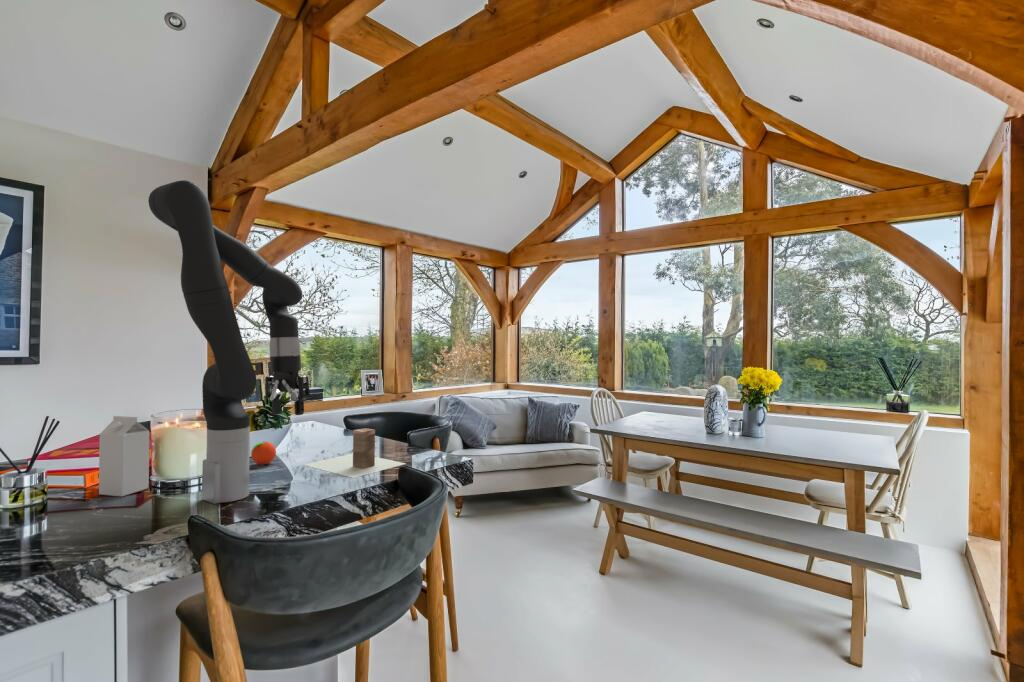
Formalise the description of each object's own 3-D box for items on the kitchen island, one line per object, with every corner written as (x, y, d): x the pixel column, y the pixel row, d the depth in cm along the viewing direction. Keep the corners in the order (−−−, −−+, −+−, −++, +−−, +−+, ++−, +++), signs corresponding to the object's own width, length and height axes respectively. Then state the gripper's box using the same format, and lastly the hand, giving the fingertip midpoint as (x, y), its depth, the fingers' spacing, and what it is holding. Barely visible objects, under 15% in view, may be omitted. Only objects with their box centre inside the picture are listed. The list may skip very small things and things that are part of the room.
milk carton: (126, 486, 129) (127, 413, 129) (148, 488, 128) (149, 415, 128) (98, 495, 122) (99, 418, 122) (122, 497, 121) (123, 419, 121)
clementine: (259, 469, 149) (260, 445, 149) (242, 466, 151) (243, 443, 151) (281, 462, 156) (281, 440, 156) (264, 460, 159) (264, 438, 159)
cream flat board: (353, 479, 138) (353, 477, 138) (302, 466, 152) (302, 464, 152) (406, 465, 155) (406, 463, 155) (356, 454, 168) (356, 452, 168)
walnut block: (362, 468, 148) (363, 431, 148) (352, 466, 150) (353, 430, 150) (374, 465, 152) (375, 429, 152) (364, 463, 154) (365, 428, 154)
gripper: (254, 355, 134) (257, 416, 134) (292, 354, 128) (295, 417, 128) (278, 354, 141) (281, 411, 141) (315, 353, 134) (318, 412, 134)
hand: (288, 414), depth 134 cm, fingers open, 8 cm apart
